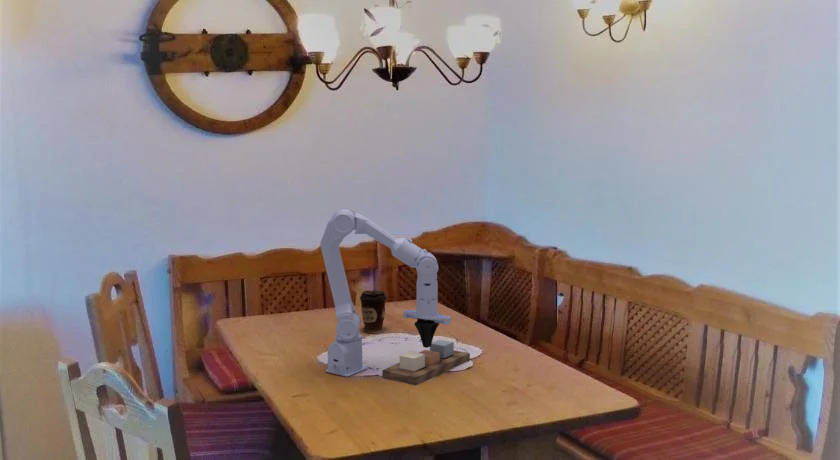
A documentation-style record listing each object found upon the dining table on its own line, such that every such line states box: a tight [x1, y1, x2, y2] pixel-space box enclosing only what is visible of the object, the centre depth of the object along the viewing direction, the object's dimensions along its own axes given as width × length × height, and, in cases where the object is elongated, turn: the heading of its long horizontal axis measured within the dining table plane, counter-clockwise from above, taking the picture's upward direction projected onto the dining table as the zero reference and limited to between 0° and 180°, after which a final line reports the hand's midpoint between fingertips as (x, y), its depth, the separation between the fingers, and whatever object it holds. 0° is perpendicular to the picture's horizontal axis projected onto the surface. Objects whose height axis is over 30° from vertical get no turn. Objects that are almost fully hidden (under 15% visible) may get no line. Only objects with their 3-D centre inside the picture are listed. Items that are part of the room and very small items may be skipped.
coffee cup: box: [359, 289, 388, 334], centre depth 258 cm, size 9×8×13 cm
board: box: [381, 350, 471, 386], centre depth 220 cm, size 26×11×2 cm, turn 144°
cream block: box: [399, 350, 425, 371], centre depth 214 cm, size 5×5×4 cm
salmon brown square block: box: [418, 349, 440, 366], centre depth 220 cm, size 5×5×4 cm
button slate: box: [429, 339, 455, 358], centre depth 225 cm, size 5×5×4 cm
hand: (427, 346), depth 219 cm, fingers closed
